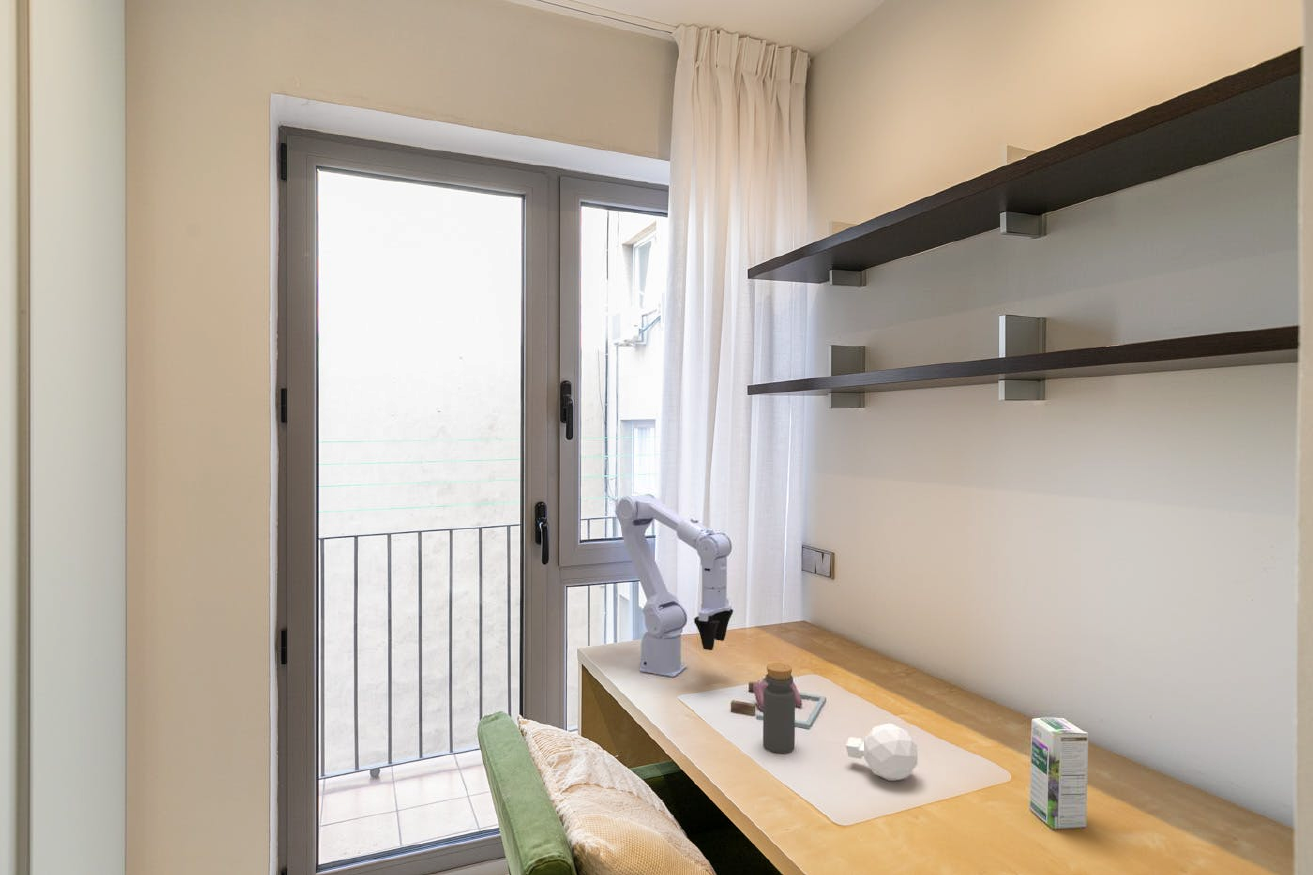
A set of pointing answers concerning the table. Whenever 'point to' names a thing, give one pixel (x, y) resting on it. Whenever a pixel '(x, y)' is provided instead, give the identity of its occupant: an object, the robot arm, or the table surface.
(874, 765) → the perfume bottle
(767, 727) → the bottle
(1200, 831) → the table surface
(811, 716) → the frame
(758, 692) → the video game controller
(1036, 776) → the syrup box
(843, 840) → the table surface
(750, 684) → the wooden blocks
